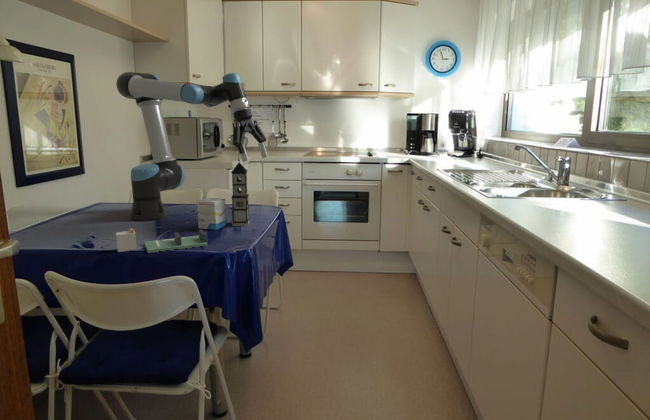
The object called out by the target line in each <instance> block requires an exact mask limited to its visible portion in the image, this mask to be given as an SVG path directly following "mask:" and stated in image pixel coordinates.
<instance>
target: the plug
mask: <svg viewBox="0 0 650 420" xmlns="http://www.w3.org/2000/svg"><path fill="white" fill-rule="evenodd" d="M115 237H116V239H115V240H116V248H117V249H118V250H117V252H118V253H122V252H130V250H131V251H137V249H138V248H137V235H136V231H135V229H134V228H129V230H127V231H117V232H115Z"/></svg>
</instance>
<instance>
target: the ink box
mask: <svg viewBox="0 0 650 420" xmlns="http://www.w3.org/2000/svg"><path fill="white" fill-rule="evenodd" d="M196 208H197V209H196V210H197V224H198V229H199V230H213V231H217V230H219V229H221V228H224V227H226V226H227V212H226V198H219V197H218V198H217V197H205V198H202V199H199V200H196Z"/></svg>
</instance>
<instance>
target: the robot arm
mask: <svg viewBox="0 0 650 420" xmlns="http://www.w3.org/2000/svg"><path fill="white" fill-rule="evenodd" d="M116 89H117V92H118V93H119V94H120V95H121V96H122V97H124V98H125V99H129V100H135V104H136V106H137V107H139V108H140V109H141V115H142V117H143V118H142V119H143V122H144V126H145V131H146V135H147V138H148V140H147V141H148V143H149V147H150V151H151V155H152V161H151V163H147V164H140V165H136V166H134V167H132V169H130V170H131V171H130V180H131V181H130V182H131V191H132V206H131V209H130V212H129V217H130V220H132V221H136V222H138V221H139V222H143V221H144V222H145V221H155V220H161V219H164V218H166V217H167V211H166V208H165V207H164V204H163V201H162V197H161V196H162V195H161V193H162V192H165V191H169V190H170V191H171V190H176V189H177V188H180V187H181V186H182V185H183V183H184V182H185V178H186V172H185V169H184V167H183V166H181V164H179V163H178V159H177V158H175V157H174V156H173V154H172V149H171V147H170V146H171V145H170V140H169V137H168V133H167V129H166V124H165V120H164V116H163V112H162V107H161V106H162V104H163V103H164V102H163V101H164V100H167V101H175V102H180V103H186V104H190V105H204V106H206V107H207V108H212V107H216V106H219V105H221V104H223V103H225V102H229V105H230V110H231V112H232V116H233V119H234V121H235V122H232V124H231V125H232V128H233V130H232V131H233V132H232V134H233V135H232V145H233V146H235V147H234V148H237V150H238V154H239V156H240V158H241V161H242V163H245V162H248V161H250V160H249V156H248V154H247V150H246V147H245V144H244V139H245V135H246V133H248V134H250V135H252V137H253V138H254V139H255V141H256V142H258V144H257V145H258V146H257V147H258V149H259V152H260V156H261V159H264V158H268V152H267V149H266V146H265V145H266V144H265V142H266V141H267V137H266V135H265V134H264V132H263V130H262V129H261V127H260V126H259V124H258V121H257V120H253V121H252V119H253V114H252V112H251V109H250V104H249V100H248V97H247V94H246V90H245V87H244V82H243V80H242V77H241V75H240V73H239V72H230V73H226V74H224V76H222V82H221V83H219V84H216V85H213V86H211V85H201V84H194V83H186V82H185V83H184V82H176V81H175V82H174V81H168V80H162V79H161V78H160V77H159V76H158V75H156V74H152V73H147V72H146V73H144V72H133V71H125V72H123V73H121V74H120V75H119V76H118V77H117V80H116Z"/></svg>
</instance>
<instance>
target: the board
mask: <svg viewBox="0 0 650 420" xmlns="http://www.w3.org/2000/svg"><path fill="white" fill-rule="evenodd" d="M173 233H174V235H173V236H174V237H173V238H163V239H156V240H155V239H154V240H147V241H144V242H143V245H144V247H145V249H147V250H146V252H147V254H151V253H153V254H154V253H160V252H159V251H162V252H167V251H166V250H170V251H175V250H174V249H179V250H185V248H187V249H193V248H192V247H195V248H201V247H200V246H203V247H208V246H209V244H208V242H207V234H206V232H205V231H204V229H199V230H198V235H192V236H190V235H189V236H183V237H182V236H181V235H180V233H179V232H178V231H177V232H173Z"/></svg>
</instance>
